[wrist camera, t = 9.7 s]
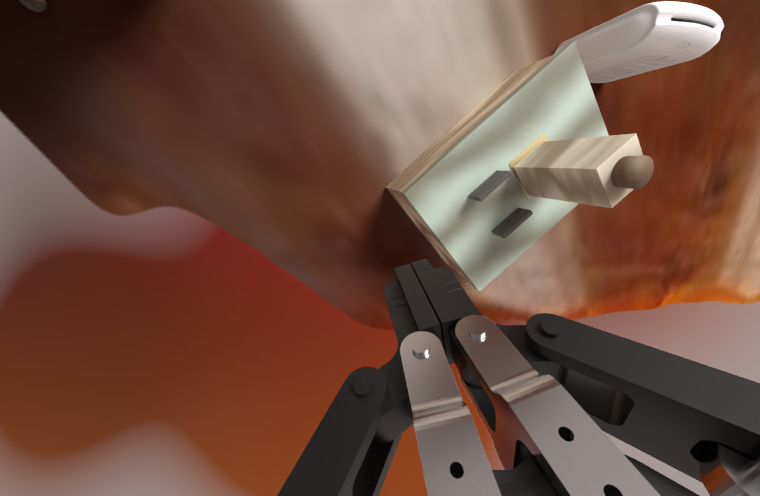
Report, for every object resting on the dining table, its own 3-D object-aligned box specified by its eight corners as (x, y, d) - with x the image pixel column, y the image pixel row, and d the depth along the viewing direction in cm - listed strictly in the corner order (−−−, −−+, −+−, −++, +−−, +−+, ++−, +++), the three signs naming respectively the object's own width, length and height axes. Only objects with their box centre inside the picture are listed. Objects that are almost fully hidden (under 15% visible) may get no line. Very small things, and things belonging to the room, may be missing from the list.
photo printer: (614, 51, 38) (748, 2, 26) (605, 86, 39) (730, 54, 27) (553, 41, 35) (672, -18, 24) (546, 79, 36) (656, 40, 25)
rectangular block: (382, 186, 35) (410, 195, 25) (514, 68, 35) (594, 31, 25) (446, 266, 41) (489, 299, 31) (559, 166, 41) (638, 167, 31)
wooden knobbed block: (513, 167, 29) (612, 169, 20) (541, 141, 29) (654, 131, 19) (528, 195, 30) (628, 210, 21) (555, 171, 30) (667, 175, 21)
